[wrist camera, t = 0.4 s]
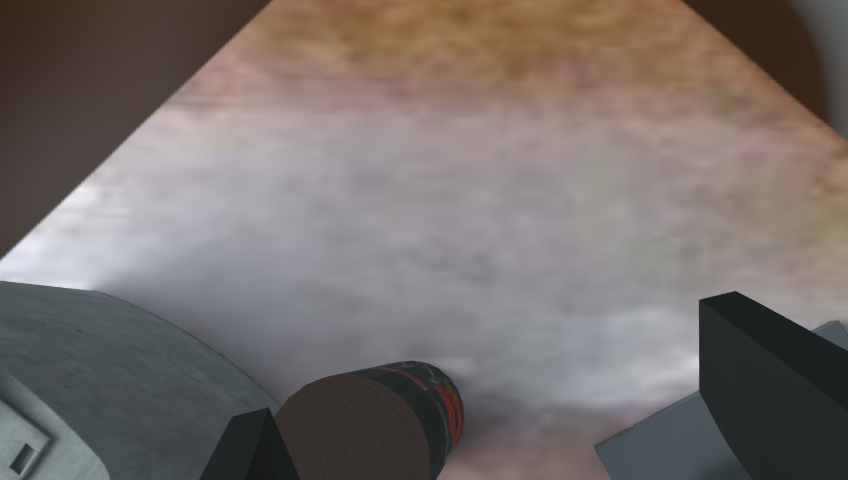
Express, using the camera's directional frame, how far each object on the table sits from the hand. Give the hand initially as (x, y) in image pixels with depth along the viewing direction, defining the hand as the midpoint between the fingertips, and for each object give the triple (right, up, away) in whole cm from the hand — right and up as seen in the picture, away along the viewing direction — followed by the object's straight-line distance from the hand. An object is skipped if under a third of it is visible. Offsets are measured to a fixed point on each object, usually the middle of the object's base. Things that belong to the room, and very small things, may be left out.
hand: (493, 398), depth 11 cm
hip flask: (-16, -5, +30) cm, 34 cm away
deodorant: (-2, -7, +27) cm, 28 cm away
